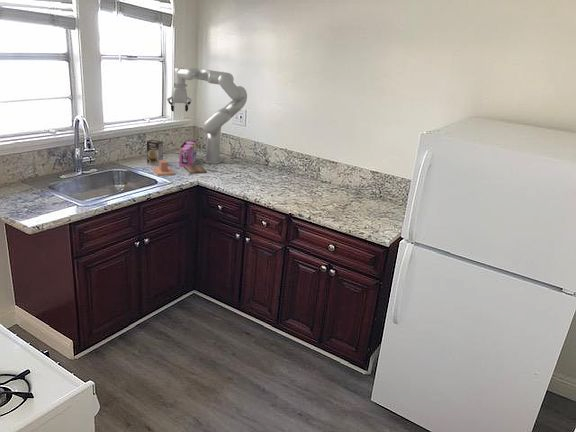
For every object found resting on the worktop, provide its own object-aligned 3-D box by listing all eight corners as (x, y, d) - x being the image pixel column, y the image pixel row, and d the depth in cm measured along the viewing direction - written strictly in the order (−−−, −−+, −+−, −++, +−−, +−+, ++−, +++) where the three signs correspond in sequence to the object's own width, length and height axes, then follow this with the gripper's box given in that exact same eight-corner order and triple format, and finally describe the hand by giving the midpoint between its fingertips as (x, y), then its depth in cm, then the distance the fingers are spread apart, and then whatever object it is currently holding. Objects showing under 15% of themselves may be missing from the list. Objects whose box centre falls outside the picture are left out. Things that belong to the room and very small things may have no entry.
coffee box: (146, 164, 315) (146, 141, 309) (151, 162, 321) (151, 139, 315) (158, 166, 313) (158, 143, 307) (163, 164, 319) (163, 141, 313)
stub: (168, 168, 310) (168, 158, 308) (174, 174, 299) (174, 163, 297) (152, 169, 305) (152, 158, 303) (157, 175, 294) (157, 164, 291)
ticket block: (199, 167, 321) (199, 164, 320) (206, 173, 309) (206, 170, 309) (183, 167, 315) (184, 165, 315) (190, 174, 304) (190, 171, 304)
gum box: (190, 168, 316) (190, 148, 311) (178, 167, 316) (178, 147, 311) (196, 159, 338) (197, 140, 333) (185, 158, 338) (185, 139, 333)
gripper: (190, 85, 327) (189, 110, 333) (165, 85, 319) (165, 110, 325) (193, 87, 321) (193, 112, 327) (168, 86, 313) (168, 112, 319)
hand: (179, 111), depth 326 cm, fingers open, 9 cm apart
